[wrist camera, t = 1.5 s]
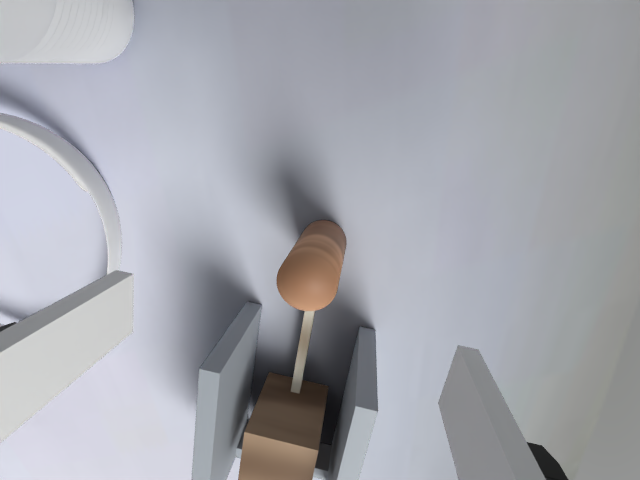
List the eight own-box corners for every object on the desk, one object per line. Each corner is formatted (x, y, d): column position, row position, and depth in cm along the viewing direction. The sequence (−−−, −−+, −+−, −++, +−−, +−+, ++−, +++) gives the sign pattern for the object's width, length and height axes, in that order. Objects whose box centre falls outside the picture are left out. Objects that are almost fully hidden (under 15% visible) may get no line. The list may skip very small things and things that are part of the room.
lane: (247, 301, 27) (199, 368, 19) (375, 329, 26) (377, 411, 19) (232, 429, 31) (188, 526, 23) (342, 457, 30) (333, 566, 23)
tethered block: (292, 213, 24) (263, 244, 18) (363, 227, 24) (360, 265, 17) (262, 418, 30) (232, 499, 24) (318, 432, 30) (304, 519, 23)
